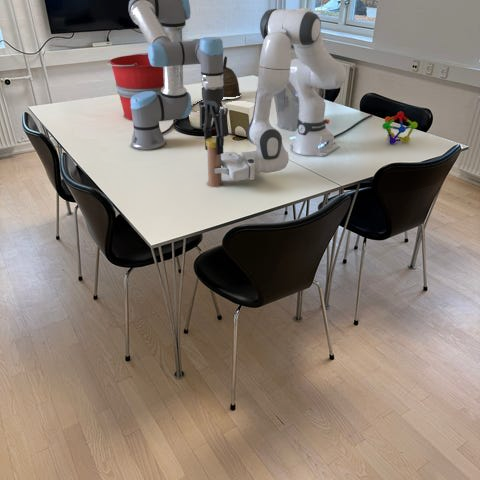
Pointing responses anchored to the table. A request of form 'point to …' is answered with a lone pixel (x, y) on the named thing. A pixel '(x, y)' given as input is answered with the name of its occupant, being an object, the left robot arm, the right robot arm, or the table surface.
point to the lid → (211, 142)
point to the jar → (214, 162)
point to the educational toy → (398, 128)
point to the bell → (230, 81)
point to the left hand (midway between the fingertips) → (214, 151)
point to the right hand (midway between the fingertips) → (212, 167)
